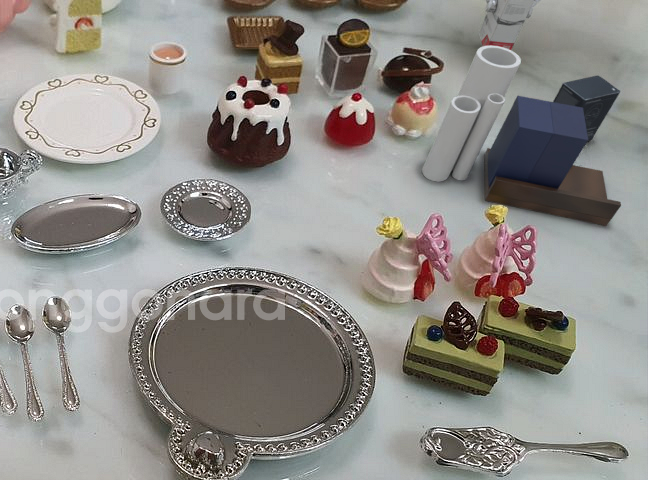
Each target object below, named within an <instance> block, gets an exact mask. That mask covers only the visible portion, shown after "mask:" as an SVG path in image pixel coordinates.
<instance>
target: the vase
mask: <svg viewBox="0 0 648 480" xmlns="http://www.w3.org/2000/svg"><path fill="white" fill-rule="evenodd" d="M521 61H522V59H521V57H520V56H519V55H518V54H517V53H516V52H515V51H513V50H509V49H506V48H504V47H499V46H491V45H490V46H480V47H479V48H478V49H477V50H476V52H475V55H474V57H473V59H472V62H471V64H470V66H469V69H468V71H467V72H466V76H465V77H464V80H463V82H462V85H461V87H460V89H459V92H458V94H457V96H454V97H453V98H452V99H451V101H450V103H449V105H448V108H447V111H446V112H445V115H444V118H443V120H442V122H441V124H440V126H439V129H438V131H437V134H436V136H435V138H434V141H433V144H432V146H431V148H430V150H429V152H428V155H427V157H426V160H425V162H424V164H423V166H422V169H421V173H422V175H423V176H424V177H425V178H426V179H428V180H429V181H433V182H438V183H439V182H444V181H446V180H448V178H449V176H450V174H451V176H452V177H453V178H454V179H455V180H458V181H465V180H467V178H468V177H469V175H470V173H471V171H472V168H473V166H474V165H475V162H476V161H477V159H478V156H479V154H480V153H481V150H482V149H483V147H484V144H485V143H486V141H487V138H488V137H489V134H490V132H491V131H492V128H493V126H494V124H495V122H496V120H497V118H498V116H499V114H500V112H501V110H502V107H503V106H504V104H505V101H506V93H507V92H508V90H509V88H510V86H511V84H512V81H513V80H514V78H515V77H516V73H517V72H518V69H519V67H520V66H521Z"/></svg>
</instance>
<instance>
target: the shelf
mask: <svg viewBox="0 0 648 480" xmlns="http://www.w3.org/2000/svg"><path fill="white" fill-rule="evenodd" d="M490 149H491V148H489V147H488V148H486V150H485V152H484V155H483V156H484V158H483V159H484V162H483V163H484V201H487V202H490V203H496V204H501V205H504V206H510V207H515V208H519V209H524V210H529V211H533V212H538V213H543V214H546V215H547V214H548V215H552V216H555V217H562V218H567V219H571V220H575V221H576V220H577V221H580V222H586V223H590V224H594V225H599V226H603V227H604V226H605V227H607V226H608V225H609V223H610V222H611V221H612V219H613V218H614V216H615V215H616V214H617V213H618V211H619V209H620V208H621V207H622V202H621V201H619V200H613V199H609V198H608V194H607V188H606V183H605V178H604V171H603V170H600V169H595V168H589V167H584V166H579V165H575V164H573V165H572V167H571V169H570V170H569V172H568V173H567V175H566V177H565V178H564V180H563V182H562V183H561V185H560V186H559V188H558V189H556V188H551V187H546V186H541V185H536V184H531V183H527V182H522V181H517V180H512V179H507V178H502V177H497V176H496V177H495V179H494V181H493V183H492V185H491V186H488V153H489V151H490Z"/></svg>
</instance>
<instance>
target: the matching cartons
mask: <svg viewBox="0 0 648 480" xmlns="http://www.w3.org/2000/svg"><path fill="white" fill-rule="evenodd" d="M493 141H494V142H493V144H492V145H491V146H490V147H491V148H490V151H489V153H488V186H491V185H492V183H493V181H494V179H495V177H496V176H497V177H502V178H507V179H512V180H517V181H522V182H527V183H531V184H536V185H541V186H546V187H551V188H556V189H558V188H559V186H560V185H561V183H562V182H563V180H564V178H565V177H566V175H567V173H568V172H569V170H570V169H571V167H572V165H575V162H576V161H577V159H578V157H579V156H580V154H581V153H582V151H583V150H584V148H585V146H586V145H587V143H588V142H589V141H588V136H587V130H586V124H585V118H584V111H583V108H582V107H576V106H571V105H566V104H560V103H555V102H553V101H548V100H543V99H539V98H533V97H528V96H522V95H517V96H516V98H515V100H514V102H513V104H512V105H511V108H510V110H509V111H508V114H507V116H506V118H505V120H504V121H503V124H502V125H501V128H500V130H499V131H498V133H497V136H496V137H495V140H493ZM587 141H588V142H587Z"/></svg>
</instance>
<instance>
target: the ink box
mask: <svg viewBox="0 0 648 480" xmlns="http://www.w3.org/2000/svg"><path fill="white" fill-rule="evenodd" d="M495 1H498V2H497V5H496V9H495V11H494V12H493V13H491V12H486V14H485V16H484V19H483V21H482V23H481V25H480V28H479V30H478V35H479V38H480V42H481V45H482V46H481V47H483V46H490V45H491V46H499V47H504V48H506V49H509V50H511V51H513V50H512V49H513V47H514V45H515V43H516V41H517V38H518V37H519V34H520V32H521V31H522V27H523V26H524V23H525V21H526V19H527V18H526V17H527V15H528V13H529V11H530V9H531V6H532V4H533V2H534V0H495Z"/></svg>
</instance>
